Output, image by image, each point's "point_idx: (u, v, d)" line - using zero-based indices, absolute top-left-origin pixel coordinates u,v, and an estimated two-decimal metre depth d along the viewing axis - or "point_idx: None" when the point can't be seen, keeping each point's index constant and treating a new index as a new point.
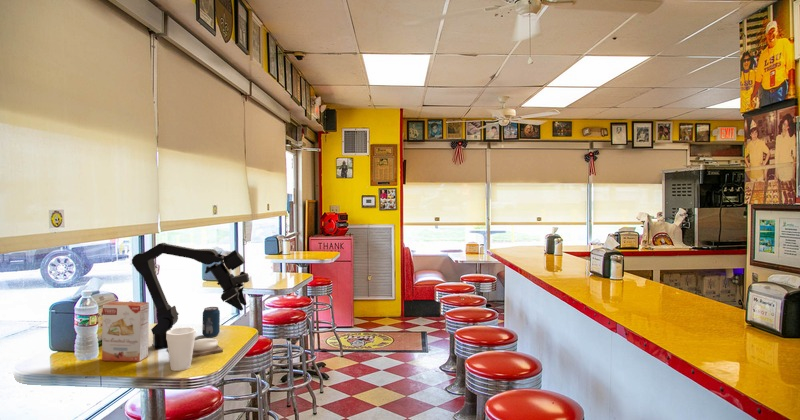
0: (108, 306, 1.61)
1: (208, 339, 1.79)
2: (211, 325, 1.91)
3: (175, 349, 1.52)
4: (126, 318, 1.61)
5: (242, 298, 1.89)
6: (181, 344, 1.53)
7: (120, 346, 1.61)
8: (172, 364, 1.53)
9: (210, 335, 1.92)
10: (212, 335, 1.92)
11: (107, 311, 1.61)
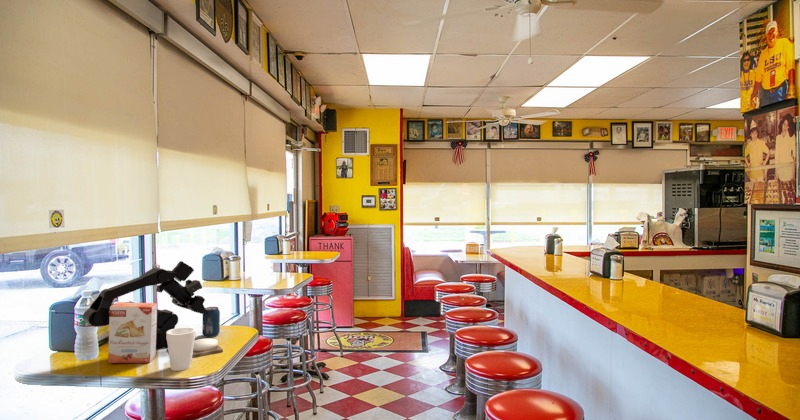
0: (116, 308, 1.57)
1: (208, 339, 1.79)
2: (211, 325, 1.91)
3: (175, 349, 1.52)
4: (136, 319, 1.58)
5: None
6: (181, 344, 1.53)
7: (129, 348, 1.58)
8: (172, 364, 1.53)
9: (210, 335, 1.92)
10: (212, 335, 1.92)
11: (115, 312, 1.57)
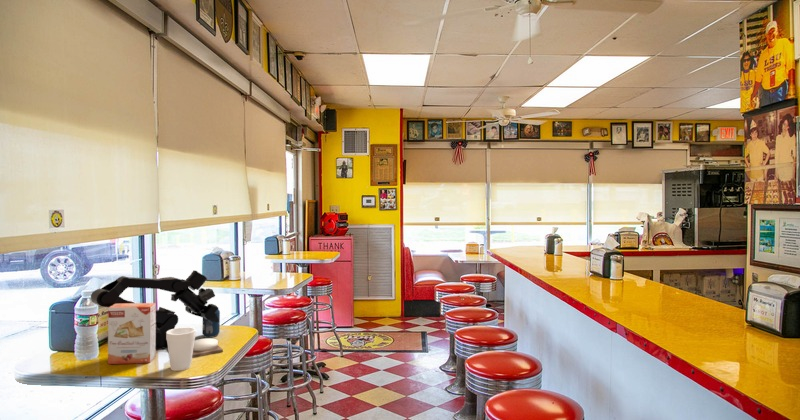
0: (115, 309, 1.57)
1: (208, 339, 1.79)
2: (211, 325, 1.91)
3: (175, 349, 1.52)
4: (135, 320, 1.58)
5: None
6: (181, 344, 1.53)
7: (128, 348, 1.58)
8: (172, 364, 1.53)
9: (210, 335, 1.92)
10: (212, 335, 1.92)
11: (113, 313, 1.57)
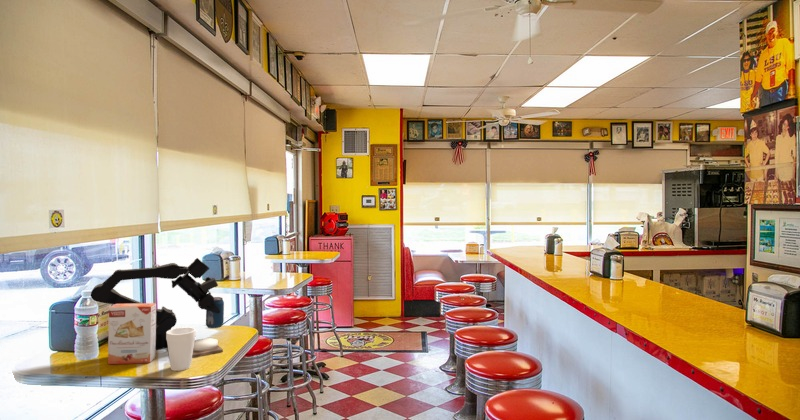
0: (115, 308, 1.58)
1: (208, 339, 1.79)
2: (211, 316, 1.85)
3: (175, 350, 1.52)
4: (135, 319, 1.59)
5: None
6: (181, 344, 1.53)
7: (129, 348, 1.59)
8: (172, 364, 1.53)
9: (211, 326, 1.85)
10: (213, 326, 1.85)
11: (114, 313, 1.58)
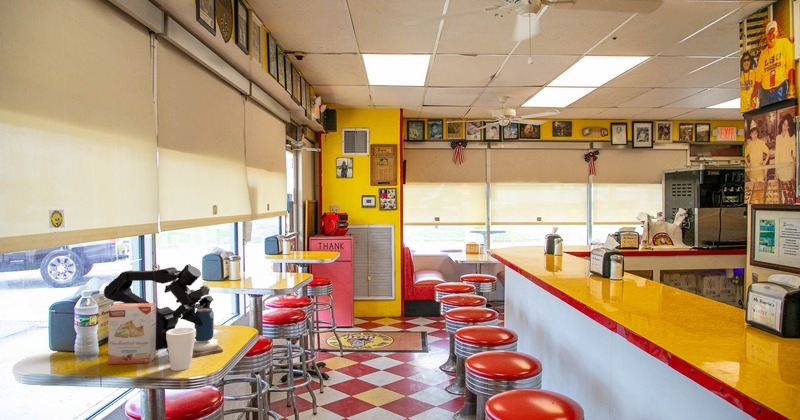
0: (115, 308, 1.58)
1: None
2: (195, 328, 1.73)
3: (175, 349, 1.52)
4: (135, 319, 1.59)
5: None
6: (181, 344, 1.53)
7: (129, 348, 1.59)
8: (172, 364, 1.53)
9: None
10: (197, 339, 1.73)
11: (114, 313, 1.58)
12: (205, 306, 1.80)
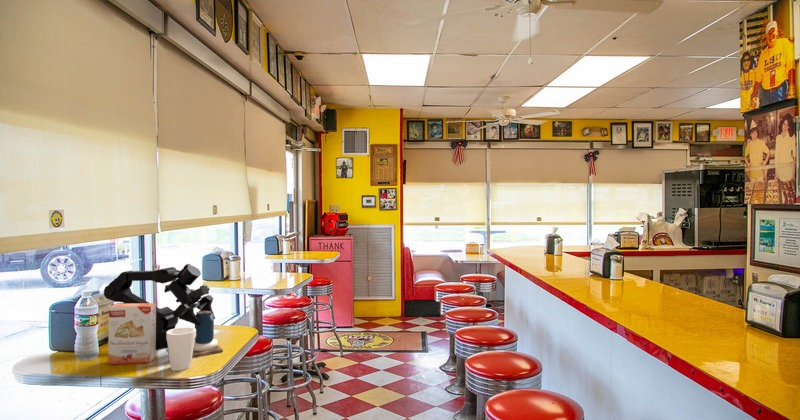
0: (115, 308, 1.58)
1: None
2: None
3: (175, 349, 1.52)
4: (135, 319, 1.59)
5: None
6: (181, 344, 1.53)
7: (129, 348, 1.59)
8: (172, 364, 1.53)
9: (196, 341, 1.73)
10: (197, 342, 1.73)
11: (114, 313, 1.57)
12: (207, 305, 1.81)
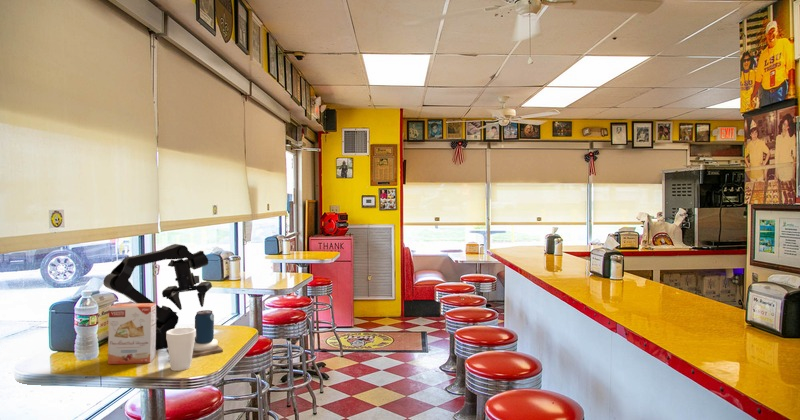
0: (115, 308, 1.58)
1: None
2: None
3: (175, 350, 1.52)
4: (135, 319, 1.59)
5: (179, 302, 1.88)
6: (181, 344, 1.53)
7: (129, 348, 1.59)
8: (172, 364, 1.53)
9: (196, 341, 1.73)
10: (197, 342, 1.73)
11: (114, 313, 1.58)
12: (177, 294, 1.88)
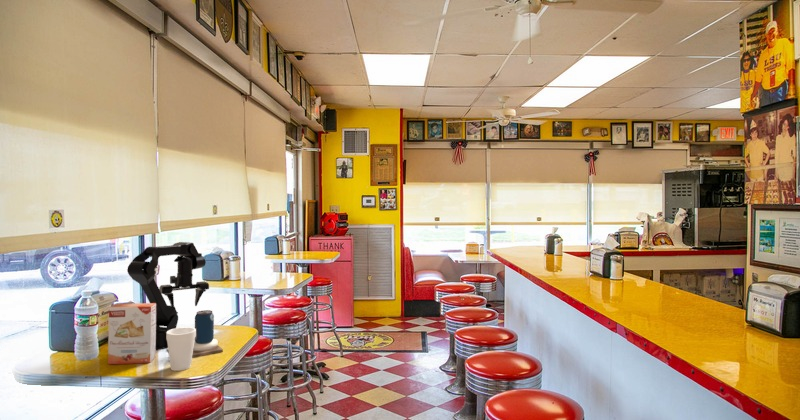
0: (115, 308, 1.58)
1: None
2: None
3: (175, 350, 1.52)
4: (135, 319, 1.59)
5: None
6: (181, 344, 1.53)
7: (129, 348, 1.59)
8: (172, 364, 1.53)
9: (196, 341, 1.73)
10: (197, 342, 1.73)
11: (114, 313, 1.58)
12: None
